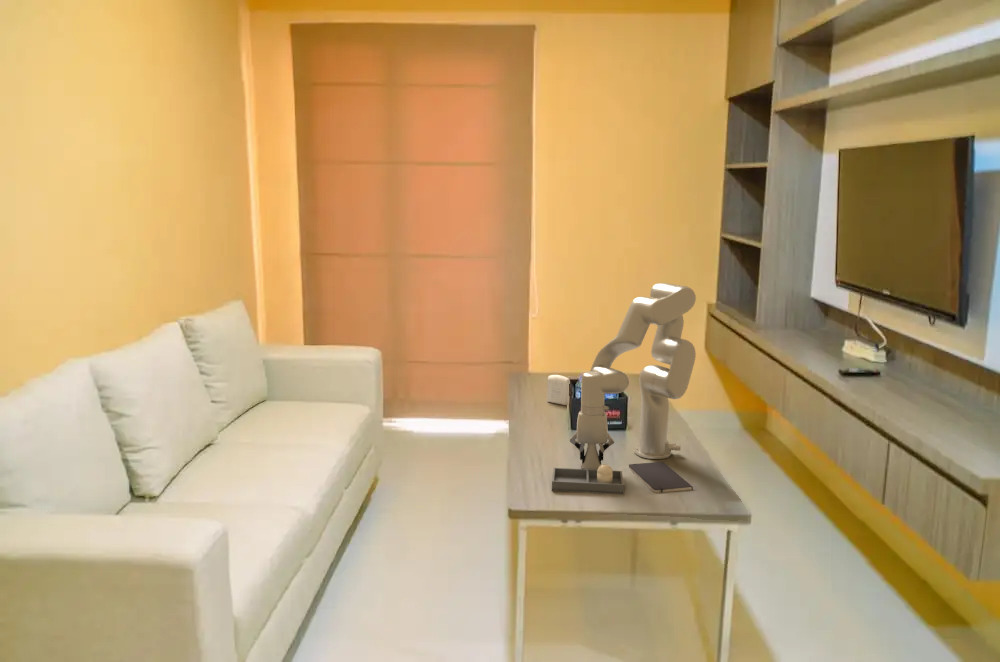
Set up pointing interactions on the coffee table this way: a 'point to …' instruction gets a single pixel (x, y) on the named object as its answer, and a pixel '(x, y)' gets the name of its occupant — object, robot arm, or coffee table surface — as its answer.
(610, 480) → the cream egg
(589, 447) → the flask
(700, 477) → the coffee table surface
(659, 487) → the notebook
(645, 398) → the robot arm
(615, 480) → the tray
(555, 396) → the photo printer
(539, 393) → the coffee table surface
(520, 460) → the coffee table surface
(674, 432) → the coffee table surface
